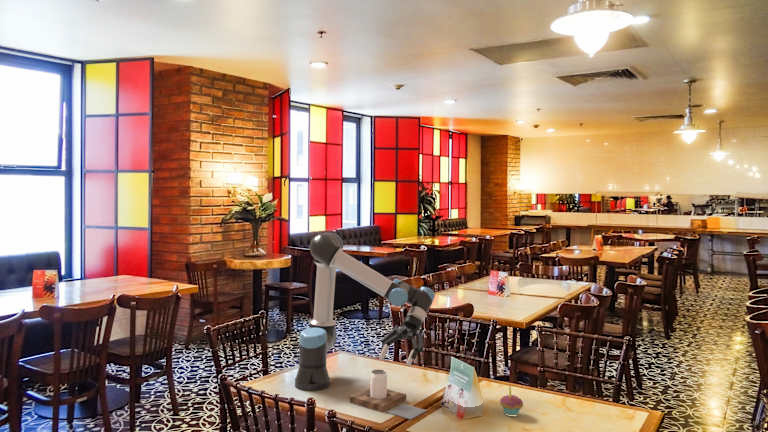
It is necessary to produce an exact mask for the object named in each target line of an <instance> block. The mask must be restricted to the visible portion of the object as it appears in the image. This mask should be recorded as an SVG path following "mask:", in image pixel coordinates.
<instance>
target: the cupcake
mask: <svg viewBox="0 0 768 432" xmlns="http://www.w3.org/2000/svg"><path fill="white" fill-rule="evenodd" d="M508 388H509V389H508V391H509V394H507V395H504V396H502V397H501V398H500V402H499V405H500V406H501V407H502V409H503V412H504V415H505V414H508V415H517V414H518V415H519V412H520V410H521V409H522V408H523V407H524V402H523V400H522V399H521V398H520V397H519V396H517V395H514V394H512V386H511V385H509V386H508Z"/></svg>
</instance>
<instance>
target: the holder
mask: <svg viewBox="0 0 768 432" xmlns="http://www.w3.org/2000/svg"><path fill="white" fill-rule="evenodd" d="M370 388H371V387H369V388H367V389H364V390H361V391H360V392H357V393H353V394H352V395H350V396H349V403H350V404H353V405H356V406H357V405H358V406H360V407H364V408H368V409H370V410H374V411H378V412H380V413H384V412H387V411H389V410H391V409H393V408H395V407H397V406H399V405H401V404H403V403H404V402H406V401H407V394H406V393H403V392H399V391H395V390H392V389H388V388H387V397H386V398H384V399H382V400H379V399H375V398H372V397H370Z"/></svg>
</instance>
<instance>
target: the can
mask: <svg viewBox="0 0 768 432" xmlns="http://www.w3.org/2000/svg"><path fill="white" fill-rule="evenodd" d="M369 388H370V397H372V398H375V399H379V400H382V399H384V398H386V397H387V389H388V375H387V371H386V370H384V369H373V370H372V371H371V374H370V387H369Z"/></svg>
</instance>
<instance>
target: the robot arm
mask: <svg viewBox="0 0 768 432" xmlns="http://www.w3.org/2000/svg"><path fill="white" fill-rule="evenodd" d="M309 251H310V254H311V256H312V257H313V258H314V259H313V263H314V264H315V265H316V277H315V291H314V303H313V304H314V306H313V318H312V319H310V321H309V327H308V328H305V329H303V330H302V331H301V332H300V333H299V338H298V342H299V343H298V344H299V355H298V358H299V359H298V361H299V363H298V370H297V372H296V375H295V379H294V387H295V388H297V389H300V390H303V391H319V390H320V391H321V390H323V389H327V388H328V387H330V386H331V378H330V375H329V371H328V368H327V353H328V352H329V351H330V350H331V349H333V347H334V346H335V345H336V342H337V339H338V338H337V337H338V336H337V335H338V333H337V330H336V322H335V320H334V319H333V318H334V317H333V313H334V304H335V303H334V301H335V290H336V276H337V270H338V271H340V272H342V273H343V274H345V275H347V276H348V277H350V278H351V279H353V280H355V281H357V282H358V283H360V284H361V285H363V286H365V287H366V288H368V289H370V290H371V291H373V292H375V293H377V294H378V295H380V296H381V297H383V298H385V299H386V300H387V301H389V303H390V304H391V306H394V307H402V306H404V305H405V304H406V303H407V304H409V305H410V306H411V307H410V308H409V310H408V312H407V314H406V316H405V318H404V320H403V322H402V326H398V324H396V325H394V327H393V328H392V329H391V330H390V331H389V332H388V333H387V334H386V335H384V337H383V338H382V339H381V340H380V342H381V343H382V344H383V345H382V347H381V348H380V354H379V355H378V358H379V360H380V361H382V362H383V361H384V360H385V357H386V355H387V353H388V351H389V349H390V346H391V345H392V344H394V343H396V342H397V341H399V340H402V339H408V340H411V343H412V347H413V349H411V351H410V353H409V356H408V358H407V360H406V362H405V364H406V366H407V367H408V368H410V367H411V366H412V363H413V361H414V360H416V358H417V356H418V354H419V353H424V337H425V336H424V335H425V332H424V330H423V329H421V328H422V325H423V323H424V322H425V319H426V317H427V314H428V312H429V310H430V308H431V307H432V305H433V302H434V299H435V297H436V293H435V291H433V289H431V288H429V287H428V286H427V287H426V286H421V287H420V288H416V287H414V286H412V285H410V284H409V283H406V282H405V281H403V280H401V279H398V278H394V280H391V279H389V278H388V277H386V276H384V275H383V274H381V273H380V272H378V271H376V270H374V269H373V268H371V267H369V266H368V265H366V264H364V263H363V262H361V261H359V260H357V259H356V258H355V257H353V256H351V255H350V254H348V253H346V252H344V243H343V240H342V238H341V237H340V236H339V235H338V234H336V233H334V232H325V233H321V234H317V235H315V236H314V237H313V238H312V239H311V241H310V243H309ZM417 335H418V336H417ZM415 336H417V337H418V338H417V339H416V337H415ZM417 340H418V343H417Z"/></svg>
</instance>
